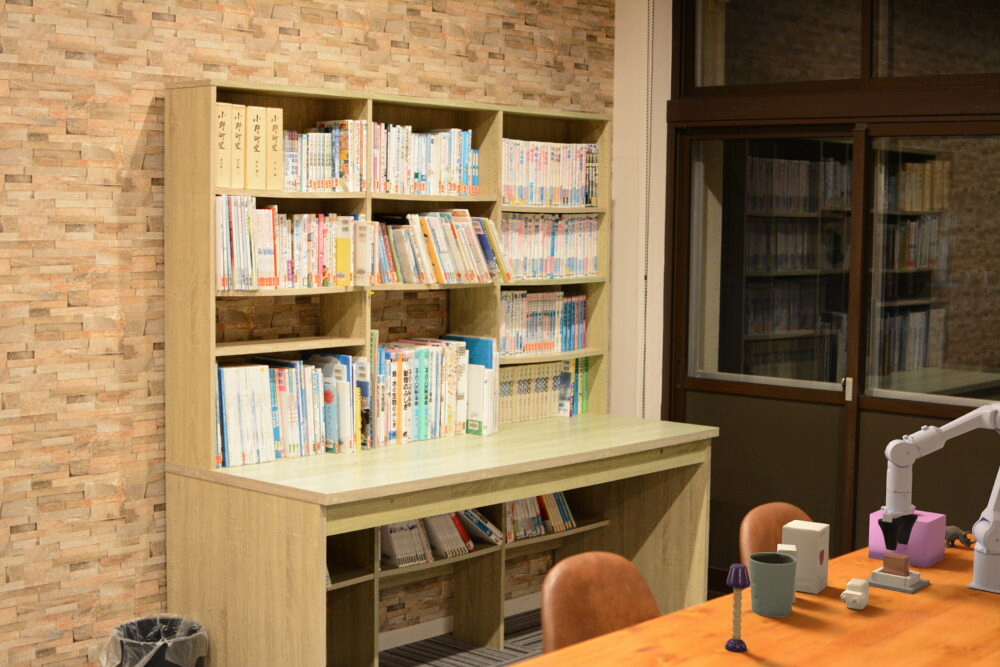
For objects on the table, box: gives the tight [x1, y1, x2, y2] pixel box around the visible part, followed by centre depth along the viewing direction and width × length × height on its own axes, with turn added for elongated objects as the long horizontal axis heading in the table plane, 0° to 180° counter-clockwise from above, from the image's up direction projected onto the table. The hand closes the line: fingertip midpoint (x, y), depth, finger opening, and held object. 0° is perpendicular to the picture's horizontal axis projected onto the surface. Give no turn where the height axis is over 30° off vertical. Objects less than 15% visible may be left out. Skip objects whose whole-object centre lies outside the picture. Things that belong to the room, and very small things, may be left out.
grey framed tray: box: [864, 565, 930, 595], centre depth 282 cm, size 12×12×3 cm
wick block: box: [882, 553, 910, 577], centre depth 282 cm, size 4×5×6 cm
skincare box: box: [776, 543, 797, 604], centre depth 268 cm, size 6×4×12 cm
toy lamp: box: [724, 563, 751, 652], centre depth 233 cm, size 5×5×17 cm
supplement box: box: [781, 519, 831, 595], centre depth 278 cm, size 9×9×15 cm
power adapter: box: [840, 577, 870, 611], centre depth 261 cm, size 11×5×6 cm, turn 149°
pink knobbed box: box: [867, 505, 947, 569], centre depth 306 cm, size 15×25×14 cm, turn 140°
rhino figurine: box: [945, 525, 977, 549], centre depth 320 cm, size 4×14×6 cm, turn 47°
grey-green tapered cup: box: [748, 551, 797, 618], centre depth 258 cm, size 10×10×12 cm
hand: (897, 546), depth 282 cm, fingers open, 7 cm apart
